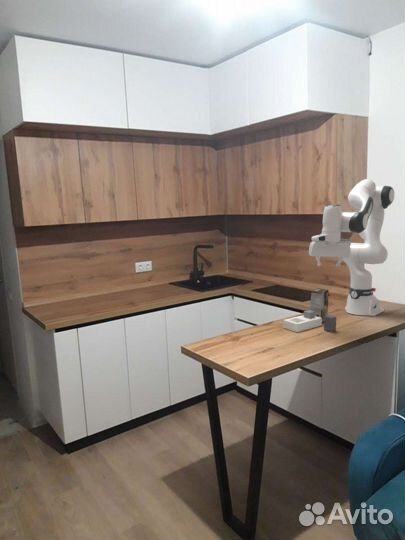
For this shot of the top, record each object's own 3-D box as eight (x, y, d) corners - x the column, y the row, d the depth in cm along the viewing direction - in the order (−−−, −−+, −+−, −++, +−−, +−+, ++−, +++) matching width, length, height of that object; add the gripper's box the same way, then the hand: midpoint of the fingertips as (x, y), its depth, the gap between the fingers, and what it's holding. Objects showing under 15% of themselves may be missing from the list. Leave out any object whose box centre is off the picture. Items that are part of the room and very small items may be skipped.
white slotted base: (307, 321, 215) (307, 308, 214) (321, 325, 208) (321, 312, 207) (283, 327, 205) (283, 314, 204) (296, 332, 198) (297, 318, 196)
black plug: (329, 328, 203) (329, 314, 202) (335, 330, 200) (336, 316, 198) (323, 330, 201) (324, 316, 199) (330, 332, 197) (331, 318, 196)
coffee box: (316, 316, 223) (317, 287, 221) (327, 319, 219) (329, 289, 217) (309, 320, 216) (310, 290, 214) (320, 322, 212) (322, 292, 210)
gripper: (347, 238, 204) (345, 266, 205) (308, 236, 201) (306, 265, 202) (354, 238, 197) (351, 267, 199) (313, 237, 195) (311, 266, 196)
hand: (328, 266), depth 200 cm, fingers open, 8 cm apart
